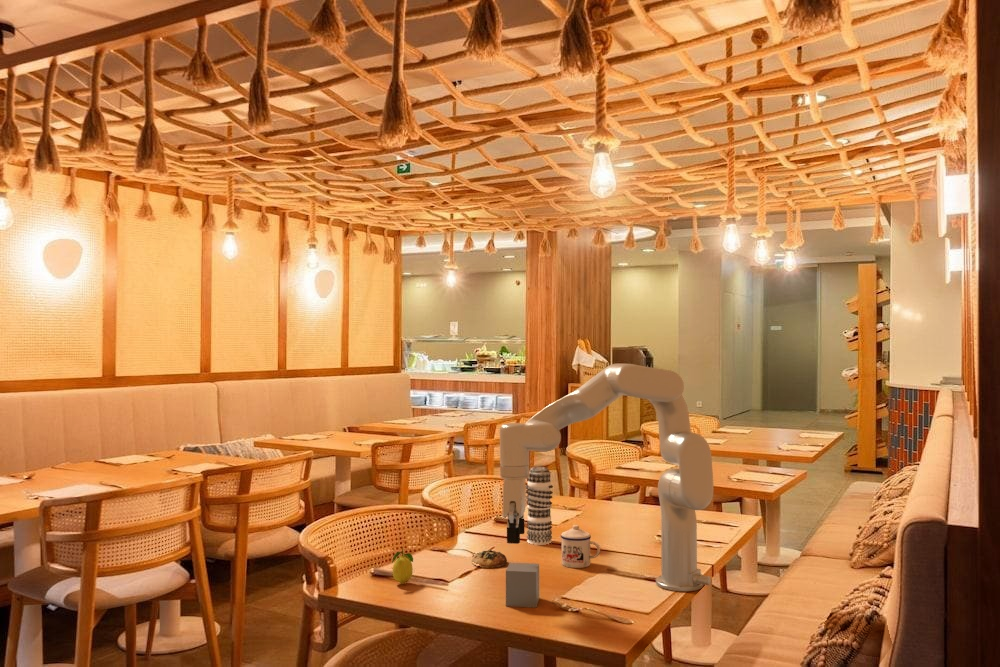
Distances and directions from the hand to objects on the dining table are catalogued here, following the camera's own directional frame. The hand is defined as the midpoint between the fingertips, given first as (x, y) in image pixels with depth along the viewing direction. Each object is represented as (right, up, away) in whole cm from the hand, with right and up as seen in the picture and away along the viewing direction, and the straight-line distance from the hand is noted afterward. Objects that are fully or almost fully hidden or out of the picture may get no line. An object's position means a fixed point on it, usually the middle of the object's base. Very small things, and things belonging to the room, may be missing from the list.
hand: (516, 538), depth 192 cm
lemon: (-31, -17, +14) cm, 38 cm away
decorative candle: (+9, -18, +61) cm, 64 cm away
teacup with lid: (+20, -17, +33) cm, 42 cm away
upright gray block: (+2, -16, -1) cm, 16 cm away
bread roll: (-8, -18, +35) cm, 40 cm away
